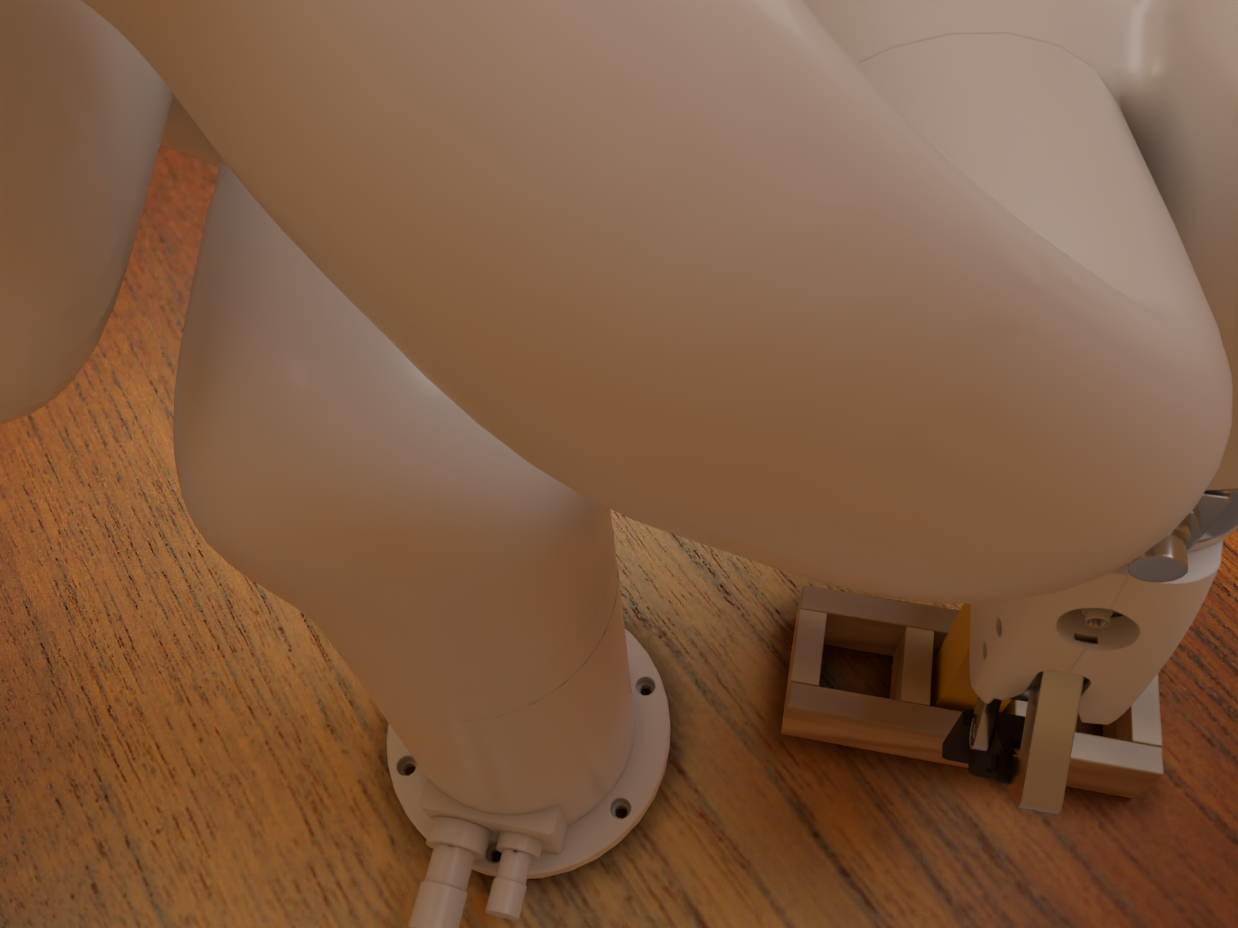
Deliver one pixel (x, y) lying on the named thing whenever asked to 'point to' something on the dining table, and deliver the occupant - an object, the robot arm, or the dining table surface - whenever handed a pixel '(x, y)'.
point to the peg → (955, 668)
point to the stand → (907, 718)
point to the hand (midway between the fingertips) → (986, 656)
